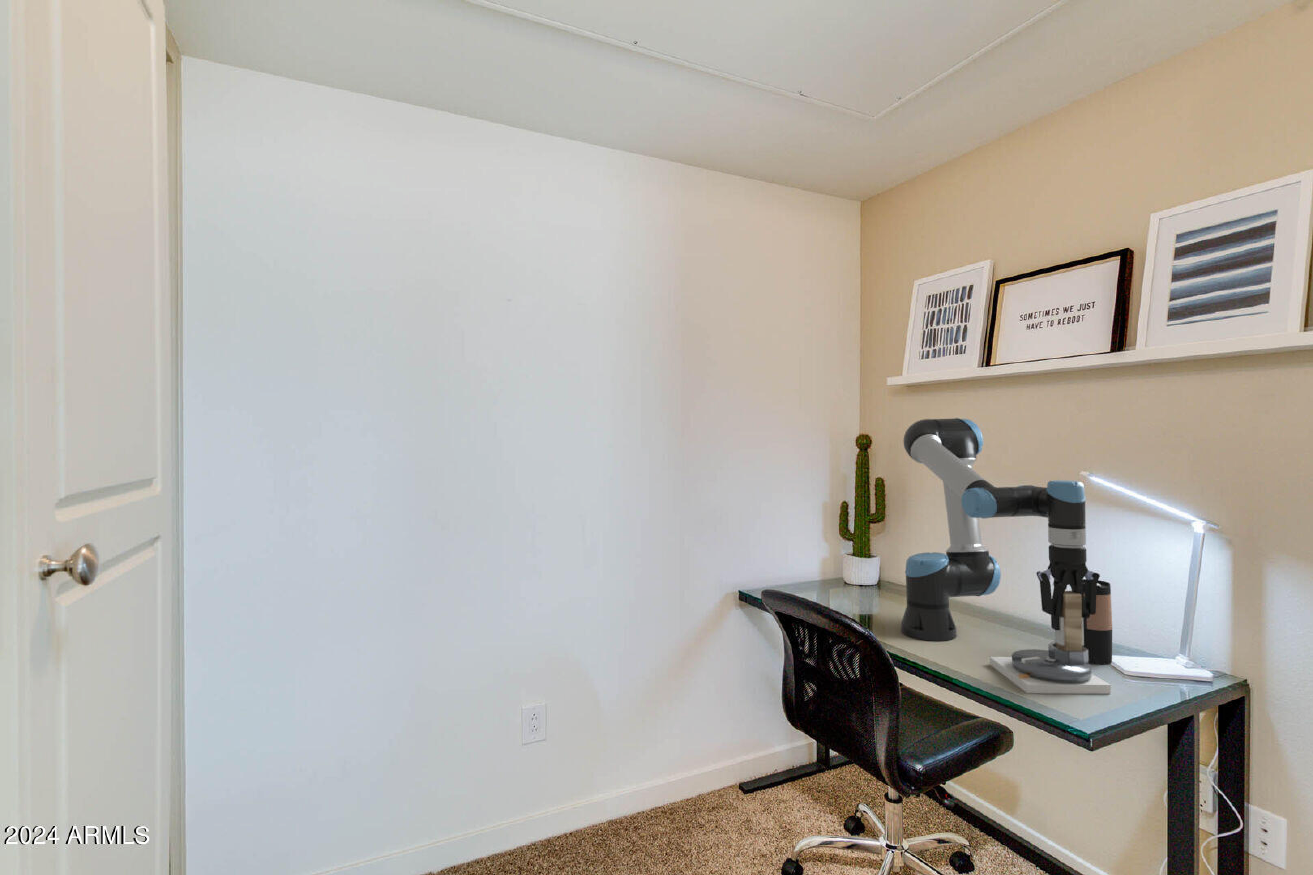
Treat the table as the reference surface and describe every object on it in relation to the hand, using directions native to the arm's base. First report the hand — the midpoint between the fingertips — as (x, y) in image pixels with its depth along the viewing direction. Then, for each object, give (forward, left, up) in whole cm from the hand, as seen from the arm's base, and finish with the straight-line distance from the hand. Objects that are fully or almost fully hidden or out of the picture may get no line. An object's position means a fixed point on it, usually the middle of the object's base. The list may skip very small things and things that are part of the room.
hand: (1069, 643), depth 147 cm
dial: (+1, -5, -6) cm, 7 cm away
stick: (0, 0, -4) cm, 4 cm away
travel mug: (-13, +14, -9) cm, 21 cm away
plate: (0, -5, -8) cm, 10 cm away
